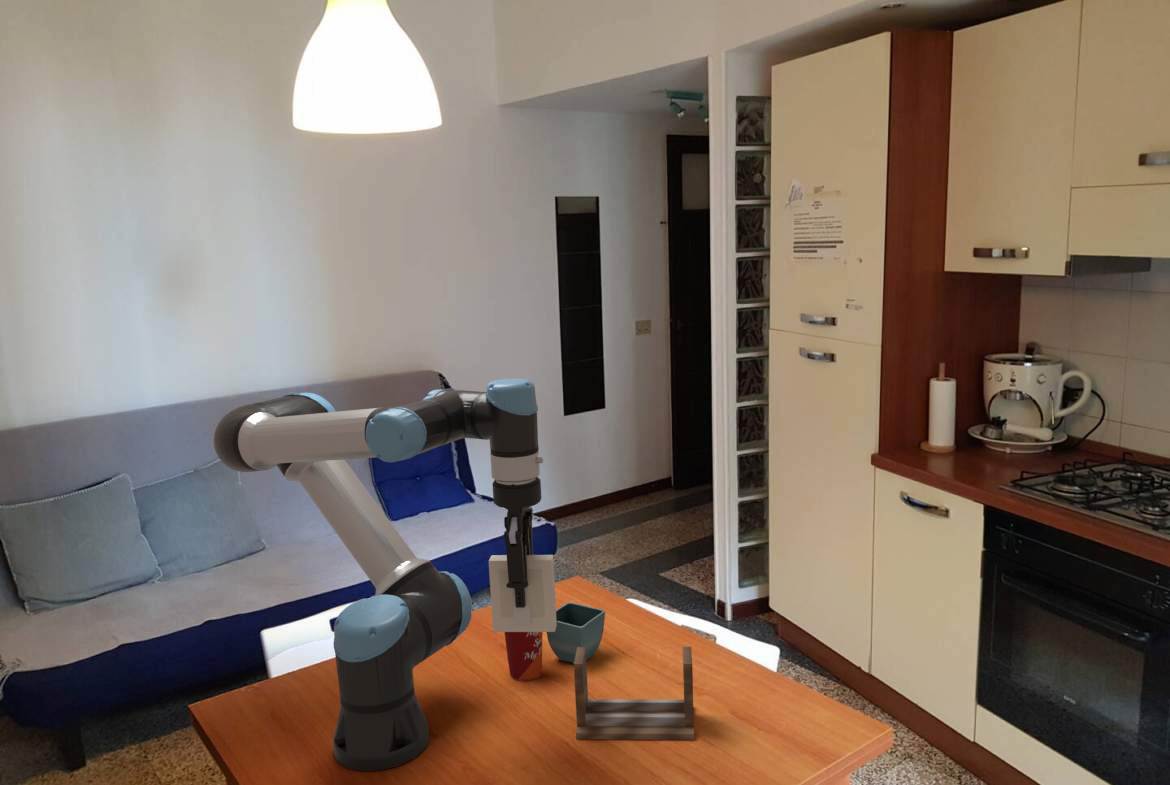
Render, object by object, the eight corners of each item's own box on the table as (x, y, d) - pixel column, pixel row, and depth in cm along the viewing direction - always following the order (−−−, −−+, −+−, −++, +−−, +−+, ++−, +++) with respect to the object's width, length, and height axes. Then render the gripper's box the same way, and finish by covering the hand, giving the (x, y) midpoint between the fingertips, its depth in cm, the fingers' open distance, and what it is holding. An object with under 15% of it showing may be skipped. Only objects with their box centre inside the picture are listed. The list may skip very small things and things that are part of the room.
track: (576, 738, 144) (572, 669, 142) (581, 706, 154) (578, 641, 152) (694, 739, 142) (692, 670, 140) (692, 707, 152) (690, 641, 150)
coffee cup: (541, 685, 162) (537, 607, 159) (498, 682, 163) (493, 605, 161) (552, 663, 170) (548, 588, 167) (511, 660, 172) (506, 587, 169)
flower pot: (608, 653, 173) (606, 609, 171) (583, 672, 166) (581, 627, 164) (570, 643, 178) (568, 601, 176) (545, 662, 170) (542, 618, 169)
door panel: (492, 632, 143) (488, 561, 141) (495, 625, 145) (491, 555, 143) (554, 632, 142) (551, 560, 140) (556, 625, 144) (553, 554, 142)
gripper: (533, 492, 131) (540, 641, 135) (546, 465, 146) (553, 599, 151) (482, 493, 132) (492, 641, 136) (501, 465, 147) (509, 599, 151)
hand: (524, 619), depth 143 cm, fingers closed on door panel, 2 cm apart
